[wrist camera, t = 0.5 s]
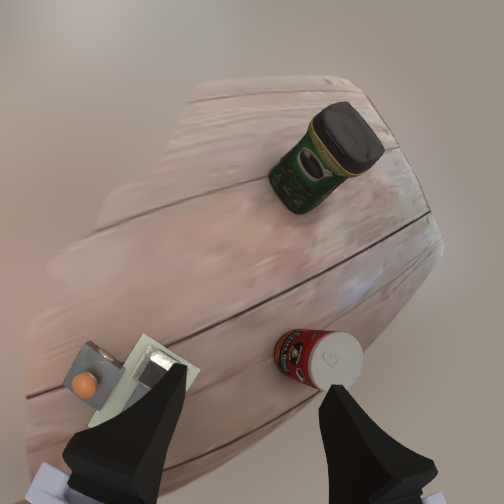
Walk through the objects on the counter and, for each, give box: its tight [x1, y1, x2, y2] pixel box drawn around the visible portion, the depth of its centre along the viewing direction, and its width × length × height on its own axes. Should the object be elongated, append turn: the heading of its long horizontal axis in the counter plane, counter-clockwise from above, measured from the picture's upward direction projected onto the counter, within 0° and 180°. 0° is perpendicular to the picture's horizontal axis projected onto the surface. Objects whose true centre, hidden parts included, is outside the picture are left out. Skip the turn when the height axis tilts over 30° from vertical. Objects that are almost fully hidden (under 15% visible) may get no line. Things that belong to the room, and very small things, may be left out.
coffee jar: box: [270, 102, 385, 213], centre depth 37 cm, size 10×8×19 cm
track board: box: [88, 333, 201, 428], centre depth 30 cm, size 17×9×4 cm, turn 148°
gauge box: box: [62, 341, 126, 411], centre depth 29 cm, size 7×6×3 cm
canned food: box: [275, 329, 363, 393], centre depth 35 cm, size 8×8×11 cm
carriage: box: [130, 344, 191, 390], centre depth 30 cm, size 5×6×6 cm
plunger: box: [72, 372, 98, 398], centre depth 24 cm, size 3×3×2 cm
